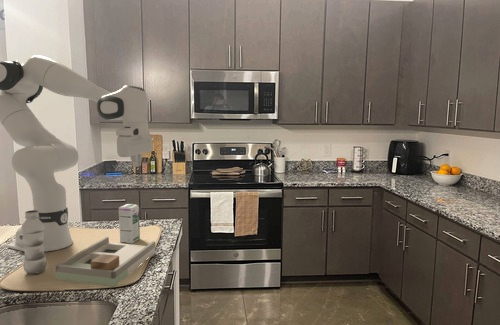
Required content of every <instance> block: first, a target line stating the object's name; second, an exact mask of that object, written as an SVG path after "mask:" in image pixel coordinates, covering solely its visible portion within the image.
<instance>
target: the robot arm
mask: <svg viewBox="0 0 500 325" xmlns="http://www.w3.org/2000/svg"><path fill="white" fill-rule="evenodd" d="M43 89H46V90H48V91H49V92H52V93H54V94H57V95H60V96H64V97H73V98H83V99H87V100H91V101H93V102H95V103H96V110H97V113H98V114H99V116H100V117H101V118H102V119H103V120H107V121H122V125H121V126H120V127H117V129H116V130H115V135H116V136H117V138H116V152H117V155H118V157H119V158H129V157H130V160H131V162H132V167H133V168H137V167H140V166H142V164H141V163H142V159H143V154H147V153H151V152H153V148H154V147H153V140H152V139H153V138H152V135H151V133H150V131H149V120H148V117H147V113H148V112H149V111H148V96H147V93H146V90H145V89H144V88H142V87H139V86H136V85H129V84H126V85H124V86H122V87H121V88H120V89H119V90H117V91H114V92H112V91H111V90H108V89H106V88H104V87H102V86H100V85H99V84H96V83H94V82H92V81H90V80H89V79H87V78H86V77H84V76H82V75H81V74H79V73H77V72H76V71H74V70H73V69H71V68H69V67H68V66H66V65H64V64H62V62H59V61H56V60H54V59H51V58H49V57H46V56H43V55H33V56H31V57H29V58H28V60H26V62H25V63H22V64H21V63H20V62H19V61H18V60H11V61H7V60H0V91H1V93H0V124H1V125H2V126H3V128H4V130H5V131H6V132H7V134H8V135H9V136H10V138H11V139H12V140H13V142H14V143H16V144H17V145H19V146H22V147H23V148H20V149H17V150H15V152H14V154H12V158H11V164H12V168H13V170H14V171H15V172H16V173H17V174H18V175H20V176H21V177H22V178H23V179H25V181H26V183H28V186H29V188H30V191H31V195H32V204H33V205H32V206H33V207H32V208H33V210H37V211H38V214H39V217H38V219H39V220H40V221H41V222H42V223H43V225H44V236H43V247H44V253H45V252H52V251H58V250H62V249H64V248H68V247H70V246H71V245H72V244H73V243H74V240H73V238H72V236H71V231H70V227H69V223H68V222H69V221H68V220H69V209H68V207H67V195H66V192H67V191H66V188H65V186H64V185H62V184H60V183H58V182H57V179H56V178H55V173H58V172H64V171H66V170H70V169H71V168H73V167H74V166H75V167H76V165H77V164H78V161H79V153H78V150H77V149H76V147H75V146H74V145H72V144H70V143H67V142H65V141H63V140H62V139H60V138H58V137H57V136H56V135H55V134H53V133H52V132H50V130H48V129H47V128H45V126H44V125H43V124H42V123H41V121H39V119H38V118H37V117H36V116H35V114H34V113H33V111H32V110H31V109H30V107H29V106H28V104H31V103H32V102H33V101H34V100H35V99H37V98H38V97H39V96H40V95H41V94H42V93H43ZM21 227H22V226H20V227H19V228H18V229H17V230H16V232H15V240H13V241H12V242H10V243H9V244H8V247H7V248H9V249H13V250H17V251H21V252H25V248H24V241H23V236H22V232H21Z"/></svg>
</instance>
